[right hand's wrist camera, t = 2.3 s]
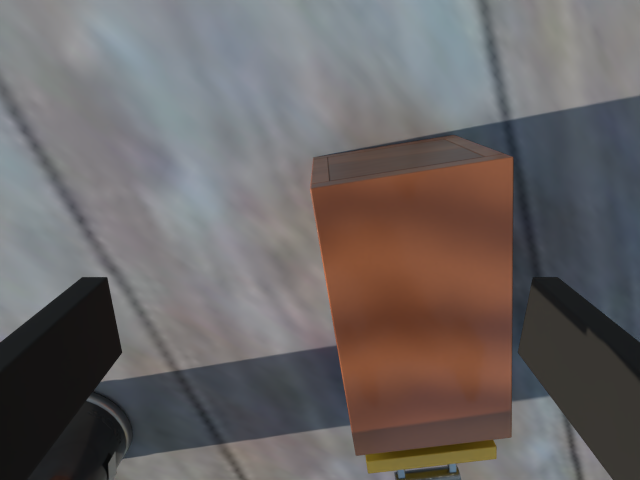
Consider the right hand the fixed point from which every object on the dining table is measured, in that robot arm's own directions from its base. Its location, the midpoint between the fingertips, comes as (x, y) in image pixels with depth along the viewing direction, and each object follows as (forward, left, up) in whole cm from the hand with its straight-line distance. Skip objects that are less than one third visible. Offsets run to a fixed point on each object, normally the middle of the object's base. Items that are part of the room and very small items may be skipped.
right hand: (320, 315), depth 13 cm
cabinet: (+1, +9, -19) cm, 21 cm away
